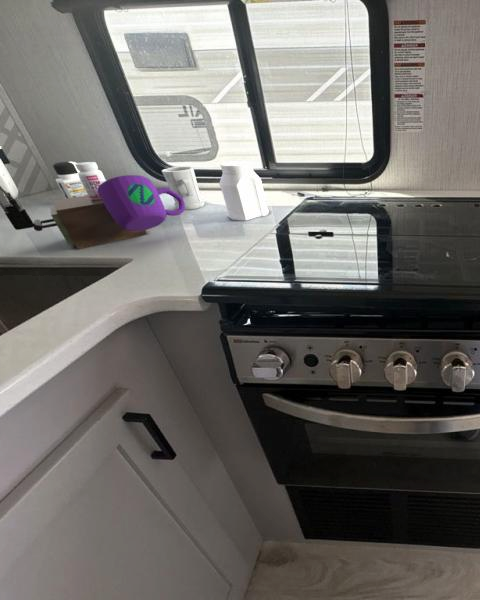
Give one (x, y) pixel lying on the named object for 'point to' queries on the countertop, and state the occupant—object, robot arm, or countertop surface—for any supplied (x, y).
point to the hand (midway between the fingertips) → (25, 227)
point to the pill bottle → (90, 178)
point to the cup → (184, 186)
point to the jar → (242, 191)
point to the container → (69, 180)
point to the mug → (136, 202)
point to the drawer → (58, 222)
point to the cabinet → (90, 222)
